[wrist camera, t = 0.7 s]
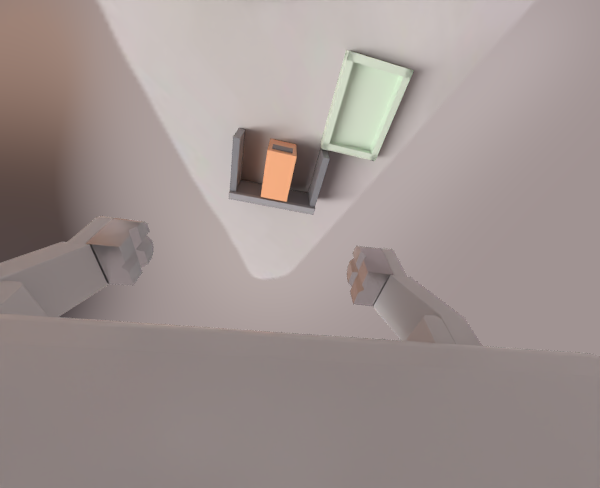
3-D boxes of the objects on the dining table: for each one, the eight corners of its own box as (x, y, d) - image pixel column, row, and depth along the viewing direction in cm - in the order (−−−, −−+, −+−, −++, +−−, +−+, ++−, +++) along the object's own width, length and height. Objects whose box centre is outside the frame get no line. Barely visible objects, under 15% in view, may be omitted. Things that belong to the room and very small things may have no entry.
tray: (346, 50, 34) (349, 50, 33) (407, 69, 36) (413, 70, 34) (320, 144, 42) (321, 148, 40) (371, 156, 44) (375, 161, 42)
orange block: (270, 136, 42) (267, 148, 37) (296, 142, 42) (297, 155, 38) (263, 181, 47) (260, 196, 42) (287, 186, 47) (286, 201, 43)
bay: (238, 128, 40) (232, 138, 36) (326, 148, 43) (330, 160, 38) (234, 184, 47) (228, 198, 42) (311, 199, 49) (313, 214, 44)
